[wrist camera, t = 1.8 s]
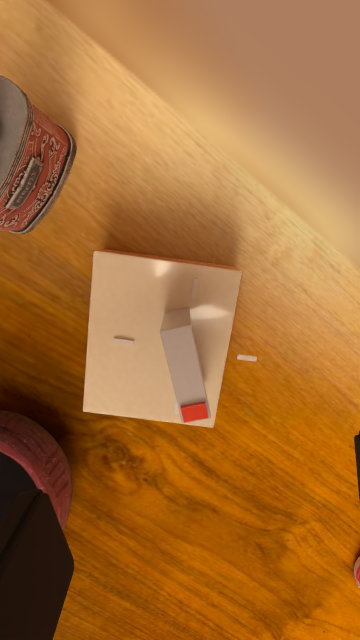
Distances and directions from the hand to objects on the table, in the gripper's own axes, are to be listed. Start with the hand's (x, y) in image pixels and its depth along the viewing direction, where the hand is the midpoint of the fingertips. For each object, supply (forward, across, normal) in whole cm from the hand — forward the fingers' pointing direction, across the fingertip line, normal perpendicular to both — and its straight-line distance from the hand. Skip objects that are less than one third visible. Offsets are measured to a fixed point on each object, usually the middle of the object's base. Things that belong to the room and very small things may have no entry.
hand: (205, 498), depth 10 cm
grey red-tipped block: (+14, 0, 0) cm, 14 cm away
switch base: (+17, +1, 0) cm, 17 cm away
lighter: (+17, +8, -13) cm, 23 cm away
